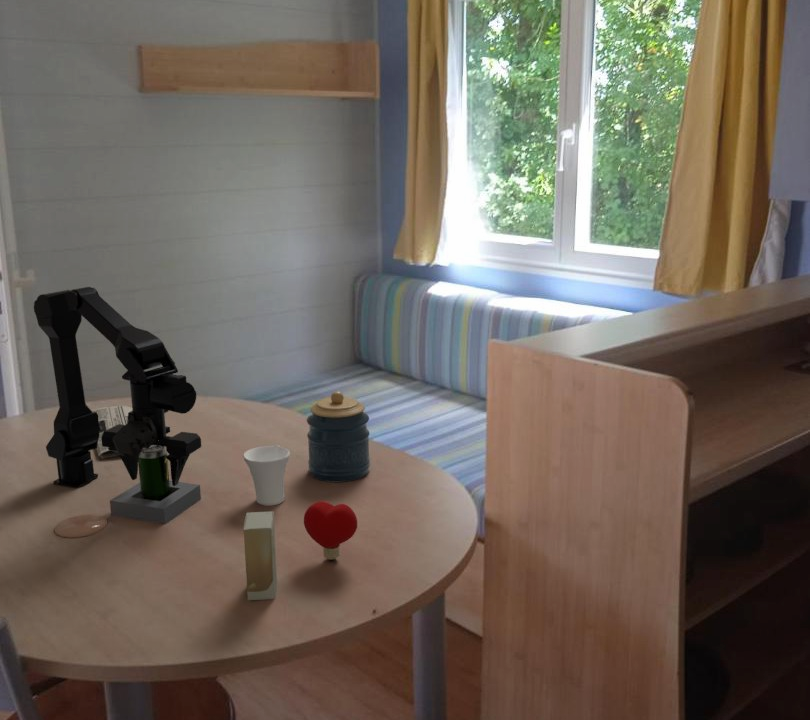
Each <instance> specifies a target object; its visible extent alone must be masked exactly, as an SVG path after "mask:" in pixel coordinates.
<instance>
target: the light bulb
mask: <svg viewBox="0 0 810 720" xmlns="http://www.w3.org/2000/svg"><path fill="white" fill-rule="evenodd" d="M303 525H304V528H305V531H306V532H307V534H308V535H309V537H310V538H311V539H312V540H314V542H316V543H317V544H318V545H319V546H321V548H323V557H324V558H325V559H327V560H329V561H335V560H336V559H337V558H339V557H340V556H341V555H340V544H344V543H345V542H347V541H349V540H350V539H351V538H352V537H353V536H354V535H355V533H356V532H357V528H358V518H357V515H356V513H355V512H354V510H353V509H352V508H351V507H350V506H349V505H347V504H344V503H339V504H335V505H334V504H332V503H330V502H327V501H325V500H320V501H315V502H313V503H312V504H311V505H309V506H308V507H307V509H306V511H305V512H304V515H303Z"/></svg>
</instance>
